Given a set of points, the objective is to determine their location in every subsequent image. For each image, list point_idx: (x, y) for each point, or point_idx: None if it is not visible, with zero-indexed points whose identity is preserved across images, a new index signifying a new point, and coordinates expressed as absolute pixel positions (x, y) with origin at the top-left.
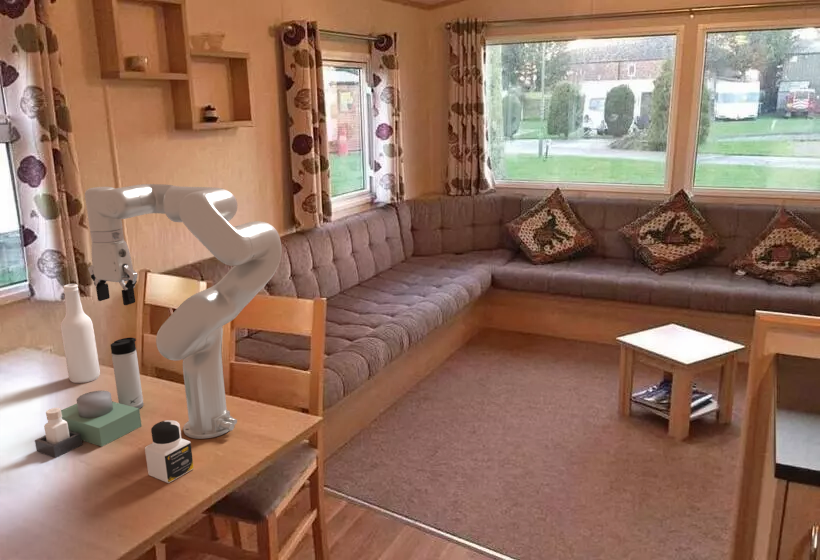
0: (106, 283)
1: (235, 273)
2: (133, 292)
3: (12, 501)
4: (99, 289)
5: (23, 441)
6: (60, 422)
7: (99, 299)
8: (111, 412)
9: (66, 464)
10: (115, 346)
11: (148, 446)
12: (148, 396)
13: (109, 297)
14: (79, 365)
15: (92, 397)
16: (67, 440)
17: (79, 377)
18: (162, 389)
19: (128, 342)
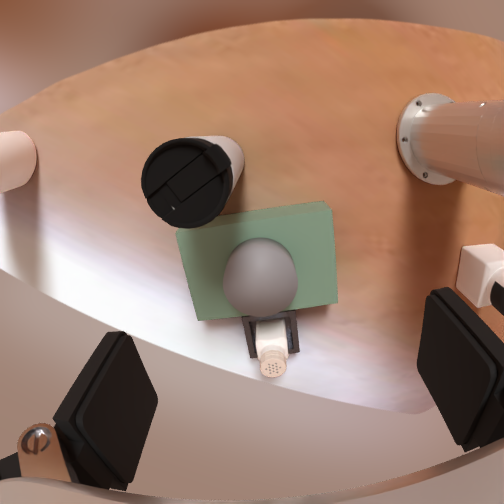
0: (57, 421)
1: None
2: (491, 337)
3: (350, 399)
4: (131, 460)
5: (197, 341)
6: (284, 350)
7: (153, 407)
8: (295, 254)
9: (331, 338)
10: (205, 224)
11: (481, 304)
12: (197, 107)
13: (129, 337)
14: (11, 179)
15: (260, 288)
16: (297, 331)
17: (26, 177)
18: (189, 69)
19: (228, 184)
